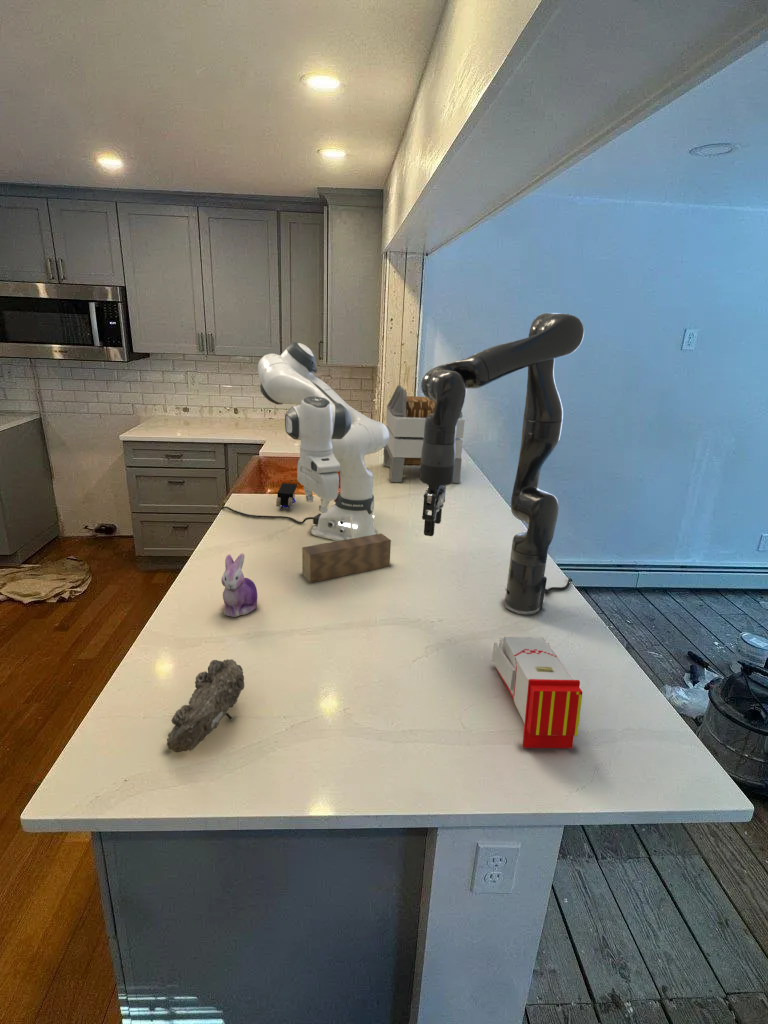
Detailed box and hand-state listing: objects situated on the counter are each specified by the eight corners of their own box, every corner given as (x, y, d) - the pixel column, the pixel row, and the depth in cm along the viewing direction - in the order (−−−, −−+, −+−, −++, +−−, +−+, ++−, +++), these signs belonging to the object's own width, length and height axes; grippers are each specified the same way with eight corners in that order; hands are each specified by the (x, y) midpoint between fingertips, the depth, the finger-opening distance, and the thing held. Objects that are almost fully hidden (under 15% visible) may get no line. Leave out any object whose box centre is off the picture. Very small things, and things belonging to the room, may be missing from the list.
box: (310, 583, 162) (310, 554, 159) (302, 574, 167) (302, 547, 164) (389, 566, 175) (391, 540, 172) (380, 558, 179) (381, 533, 176)
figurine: (226, 621, 140) (223, 566, 135) (217, 603, 148) (214, 550, 143) (264, 614, 144) (262, 560, 139) (253, 596, 153) (251, 545, 148)
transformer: (382, 463, 289) (386, 382, 275) (445, 464, 293) (451, 384, 279) (390, 482, 257) (394, 392, 243) (460, 483, 261) (468, 394, 247)
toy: (540, 620, 128) (592, 687, 99) (535, 674, 131) (584, 755, 102) (487, 619, 128) (523, 686, 99) (483, 673, 131) (517, 754, 101)
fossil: (192, 660, 117) (244, 628, 112) (224, 691, 120) (276, 661, 115) (142, 746, 98) (202, 712, 93) (182, 779, 101) (242, 748, 96)
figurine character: (293, 515, 216) (298, 499, 229) (292, 497, 212) (297, 481, 226) (275, 515, 216) (281, 498, 229) (274, 497, 212) (280, 481, 226)
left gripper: (291, 450, 160) (291, 497, 165) (320, 469, 144) (320, 519, 148) (311, 449, 163) (311, 494, 168) (343, 466, 147) (342, 516, 152)
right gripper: (448, 471, 119) (442, 542, 124) (459, 455, 132) (453, 521, 137) (414, 467, 121) (409, 537, 126) (427, 452, 134) (423, 516, 139)
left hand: (316, 506), depth 158 cm, fingers open, 8 cm apart
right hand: (432, 528), depth 132 cm, fingers open, 8 cm apart
